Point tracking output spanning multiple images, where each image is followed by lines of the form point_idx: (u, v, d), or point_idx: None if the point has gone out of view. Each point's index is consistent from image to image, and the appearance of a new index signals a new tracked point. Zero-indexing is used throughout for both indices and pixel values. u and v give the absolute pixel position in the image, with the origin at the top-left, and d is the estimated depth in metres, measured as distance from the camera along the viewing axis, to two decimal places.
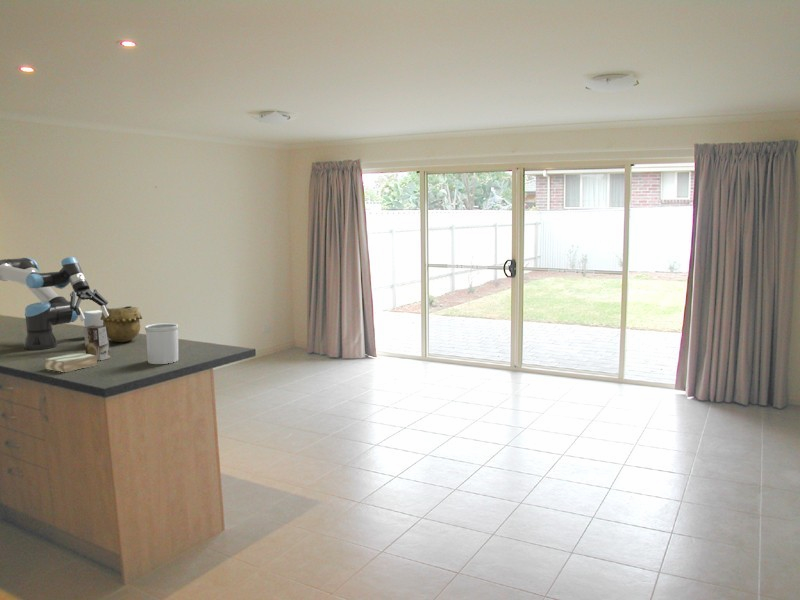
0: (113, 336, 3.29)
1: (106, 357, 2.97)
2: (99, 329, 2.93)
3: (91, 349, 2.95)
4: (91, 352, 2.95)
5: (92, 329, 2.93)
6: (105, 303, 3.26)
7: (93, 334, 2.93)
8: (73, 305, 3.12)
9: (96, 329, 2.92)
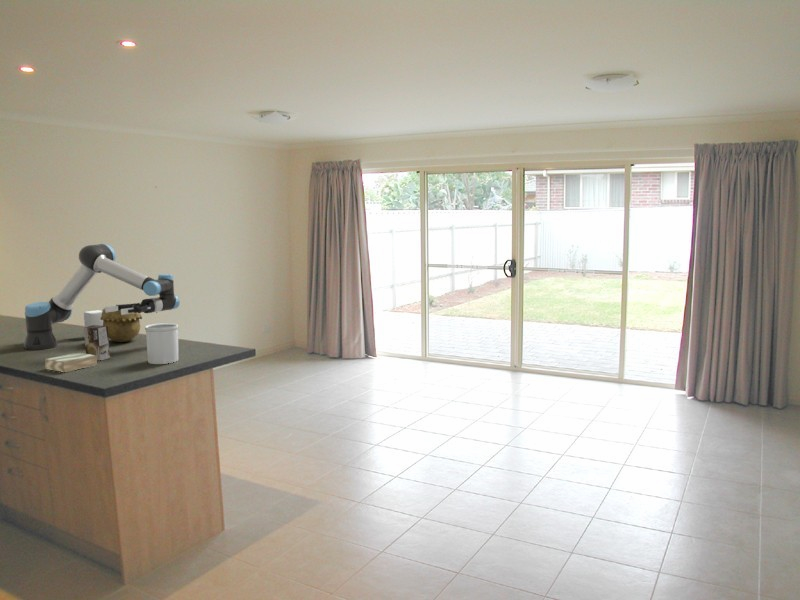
0: (113, 336, 3.29)
1: (106, 357, 2.97)
2: (99, 329, 2.93)
3: (91, 349, 2.95)
4: (91, 352, 2.95)
5: (92, 329, 2.93)
6: (117, 311, 3.13)
7: (93, 334, 2.93)
8: None
9: (96, 329, 2.92)
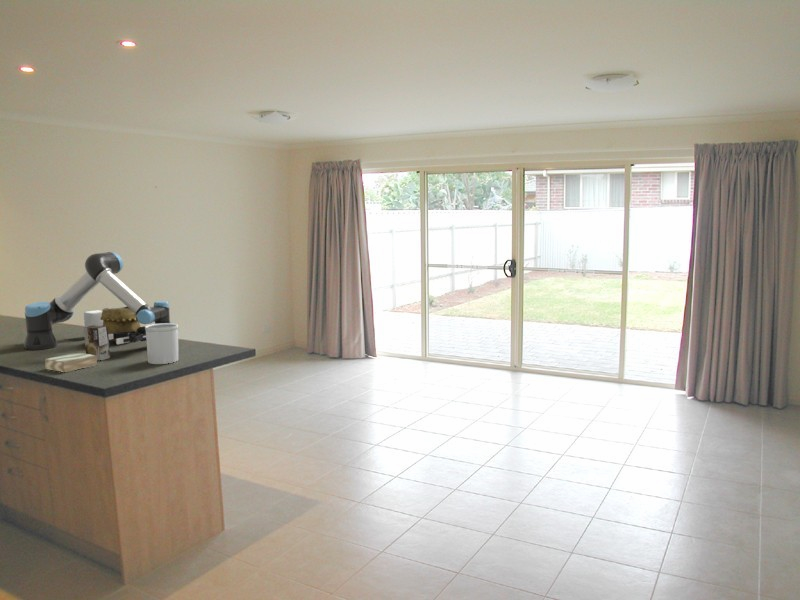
0: None
1: (106, 357, 2.97)
2: (99, 329, 2.93)
3: (91, 349, 2.95)
4: (91, 352, 2.95)
5: (92, 329, 2.93)
6: (112, 339, 3.12)
7: (93, 334, 2.93)
8: None
9: (96, 329, 2.92)
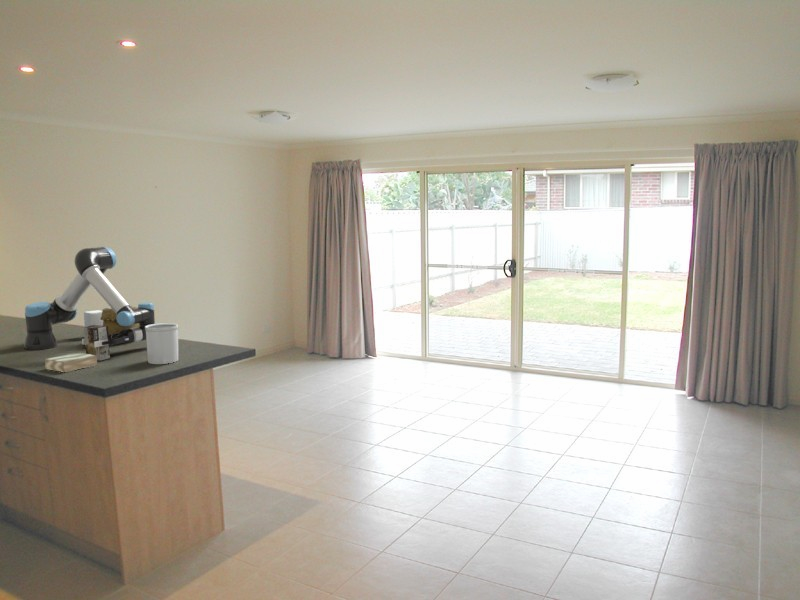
0: None
1: (106, 357, 2.97)
2: (99, 329, 2.93)
3: (91, 349, 2.95)
4: (91, 352, 2.95)
5: (92, 329, 2.93)
6: None
7: (93, 334, 2.93)
8: None
9: (96, 329, 2.92)
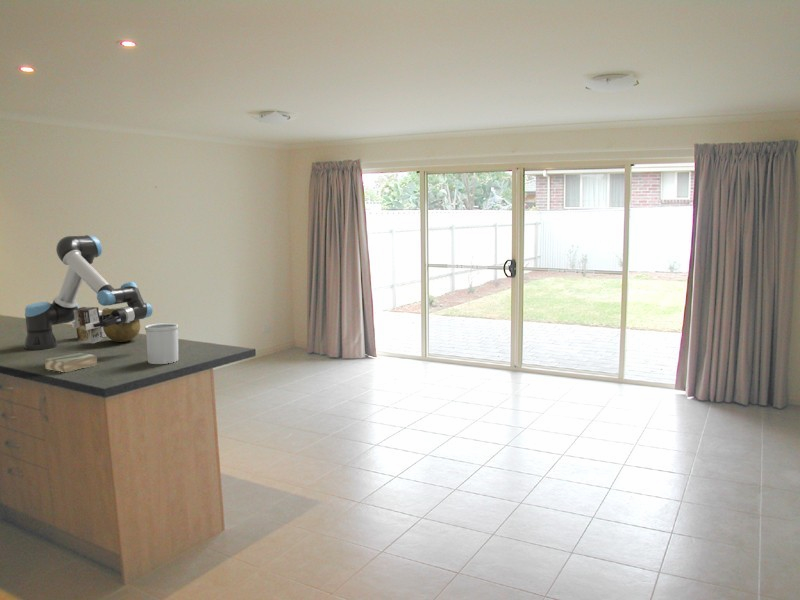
0: (113, 336, 3.29)
1: (99, 339, 2.88)
2: (90, 311, 2.83)
3: (83, 332, 2.85)
4: (83, 335, 2.85)
5: (82, 311, 2.83)
6: None
7: (84, 316, 2.83)
8: None
9: (86, 311, 2.82)
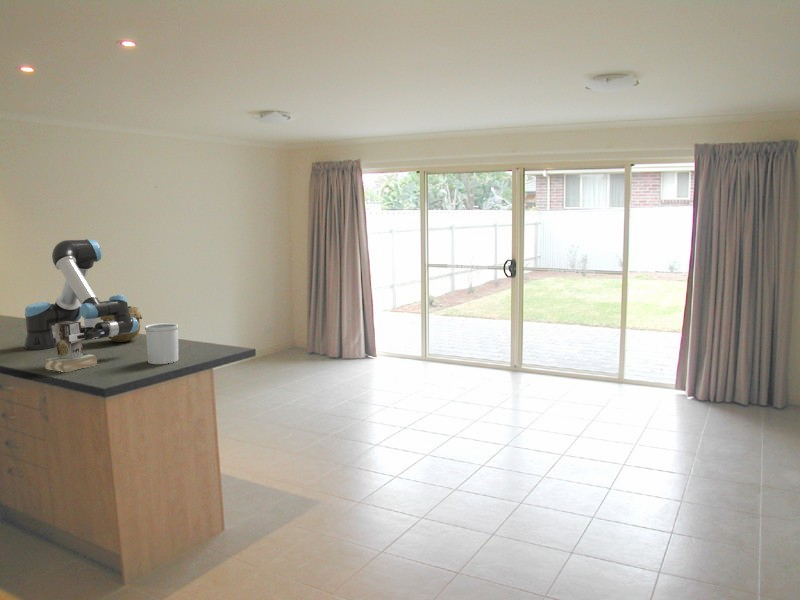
0: (113, 336, 3.29)
1: (79, 355, 2.80)
2: (71, 325, 2.75)
3: (63, 347, 2.77)
4: (63, 349, 2.77)
5: (63, 325, 2.75)
6: None
7: (65, 331, 2.76)
8: None
9: (67, 325, 2.75)
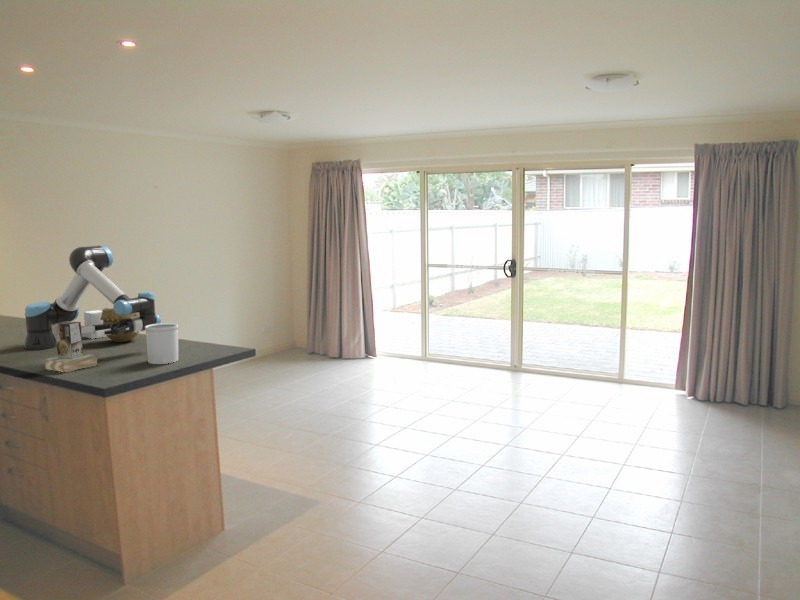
0: (113, 336, 3.29)
1: (79, 355, 2.80)
2: (71, 325, 2.75)
3: (63, 347, 2.77)
4: (63, 349, 2.77)
5: (63, 325, 2.75)
6: None
7: (65, 331, 2.76)
8: None
9: (68, 325, 2.75)
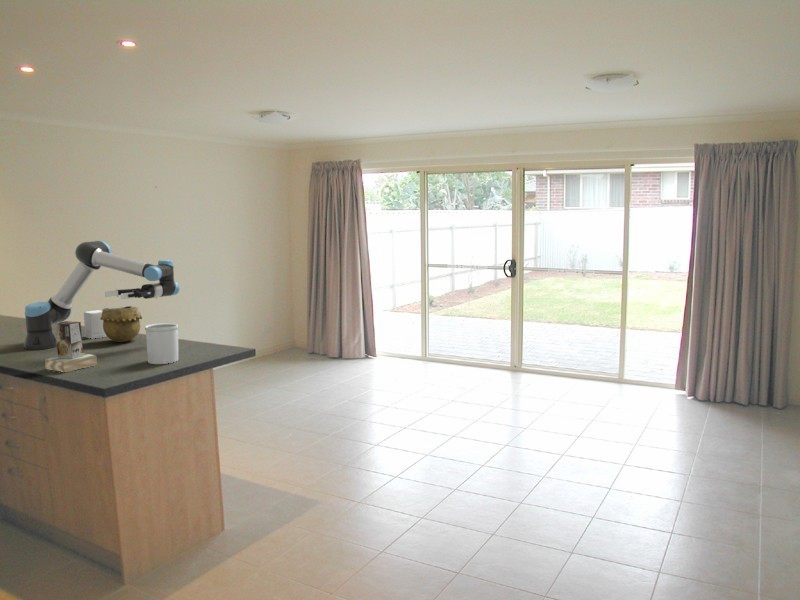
0: (113, 336, 3.29)
1: (79, 355, 2.80)
2: (71, 325, 2.75)
3: (63, 346, 2.77)
4: (63, 349, 2.77)
5: (63, 325, 2.75)
6: (117, 296, 3.14)
7: (65, 331, 2.76)
8: None
9: (68, 325, 2.75)
